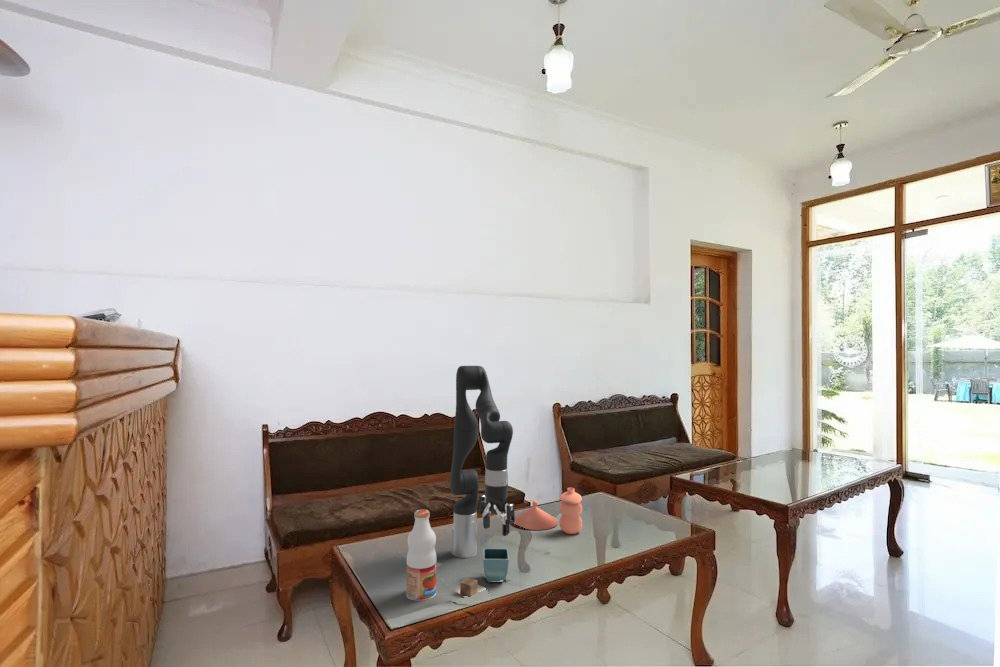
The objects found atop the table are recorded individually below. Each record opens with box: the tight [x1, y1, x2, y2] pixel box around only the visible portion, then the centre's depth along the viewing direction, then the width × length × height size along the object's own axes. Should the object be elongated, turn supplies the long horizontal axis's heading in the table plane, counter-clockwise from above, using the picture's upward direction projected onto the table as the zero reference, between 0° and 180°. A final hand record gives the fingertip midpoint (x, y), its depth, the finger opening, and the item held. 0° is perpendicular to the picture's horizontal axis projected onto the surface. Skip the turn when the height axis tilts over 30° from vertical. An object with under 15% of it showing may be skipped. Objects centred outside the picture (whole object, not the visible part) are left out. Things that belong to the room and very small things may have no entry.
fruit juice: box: [405, 509, 437, 601], centre depth 157 cm, size 9×9×28 cm
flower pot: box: [482, 548, 510, 583], centre depth 170 cm, size 9×9×9 cm
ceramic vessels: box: [512, 487, 583, 535], centre depth 222 cm, size 35×21×19 cm, turn 49°
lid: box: [452, 577, 487, 597], centre depth 158 cm, size 13×13×5 cm
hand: (496, 531), depth 161 cm, fingers open, 8 cm apart
